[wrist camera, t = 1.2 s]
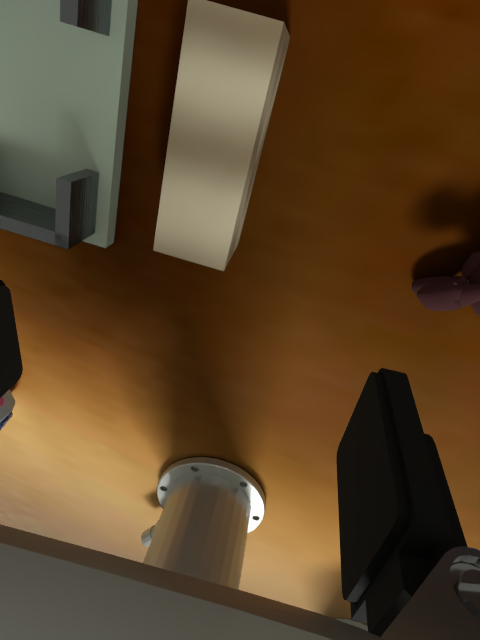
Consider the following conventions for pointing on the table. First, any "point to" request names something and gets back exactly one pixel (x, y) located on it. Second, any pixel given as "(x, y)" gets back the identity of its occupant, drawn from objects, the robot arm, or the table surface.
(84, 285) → the table surface
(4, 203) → the end caps
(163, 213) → the beige long block
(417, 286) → the icecream
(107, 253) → the table surface
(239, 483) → the robot arm
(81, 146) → the base board
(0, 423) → the pencil case
